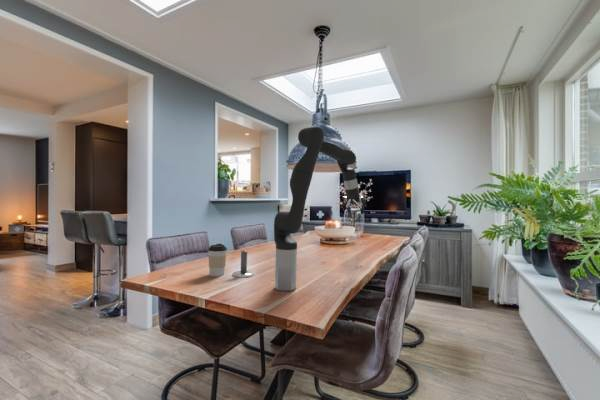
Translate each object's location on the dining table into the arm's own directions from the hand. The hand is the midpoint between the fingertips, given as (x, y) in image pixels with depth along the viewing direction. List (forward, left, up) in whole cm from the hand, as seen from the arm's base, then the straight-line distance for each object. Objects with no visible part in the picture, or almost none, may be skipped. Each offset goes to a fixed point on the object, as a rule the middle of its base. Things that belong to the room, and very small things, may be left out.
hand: (356, 213), depth 168 cm
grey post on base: (-25, +59, -32) cm, 72 cm away
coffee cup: (-27, +72, -32) cm, 83 cm away
